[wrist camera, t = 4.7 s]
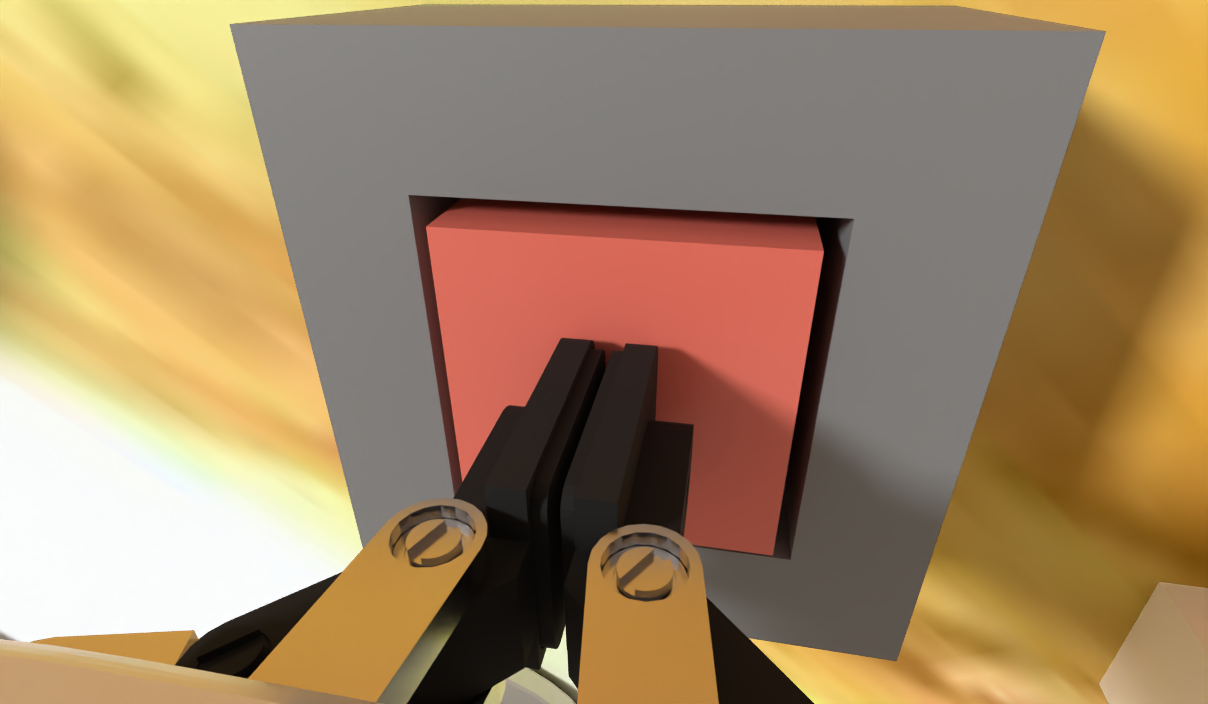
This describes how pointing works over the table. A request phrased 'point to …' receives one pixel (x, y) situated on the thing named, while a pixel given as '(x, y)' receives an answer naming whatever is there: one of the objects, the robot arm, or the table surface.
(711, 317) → the breaker button
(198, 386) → the table surface
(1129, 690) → the cap
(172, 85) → the table surface
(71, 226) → the table surface
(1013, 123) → the box
